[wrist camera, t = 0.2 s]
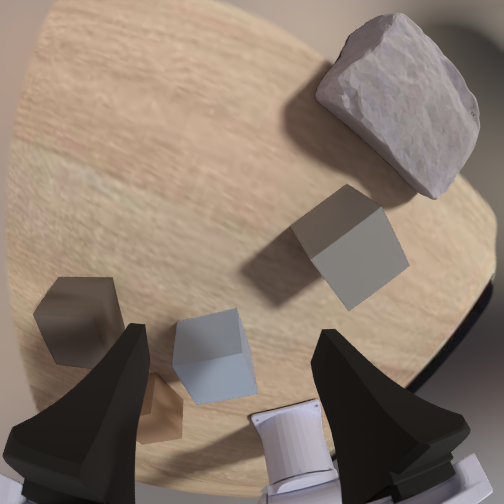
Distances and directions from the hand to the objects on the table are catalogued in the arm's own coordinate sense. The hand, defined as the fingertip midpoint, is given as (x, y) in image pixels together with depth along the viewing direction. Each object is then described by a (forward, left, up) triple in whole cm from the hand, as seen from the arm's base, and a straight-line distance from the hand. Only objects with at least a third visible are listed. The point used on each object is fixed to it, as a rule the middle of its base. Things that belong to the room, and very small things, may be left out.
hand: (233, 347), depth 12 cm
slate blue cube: (-8, +3, -10) cm, 13 cm away
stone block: (+8, -15, -11) cm, 20 cm away
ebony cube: (-2, +12, -10) cm, 16 cm away
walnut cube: (-14, +12, -10) cm, 21 cm away
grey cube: (-1, -8, -10) cm, 13 cm away
